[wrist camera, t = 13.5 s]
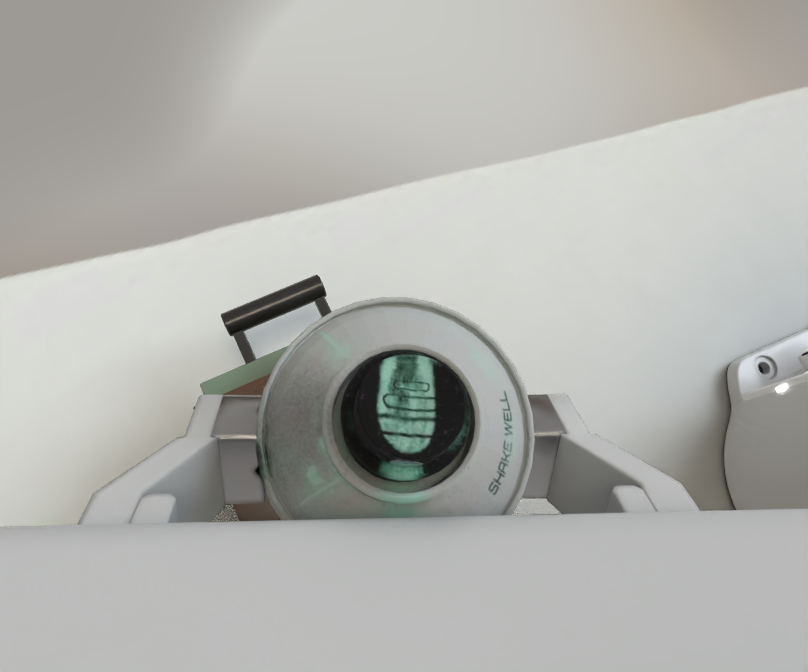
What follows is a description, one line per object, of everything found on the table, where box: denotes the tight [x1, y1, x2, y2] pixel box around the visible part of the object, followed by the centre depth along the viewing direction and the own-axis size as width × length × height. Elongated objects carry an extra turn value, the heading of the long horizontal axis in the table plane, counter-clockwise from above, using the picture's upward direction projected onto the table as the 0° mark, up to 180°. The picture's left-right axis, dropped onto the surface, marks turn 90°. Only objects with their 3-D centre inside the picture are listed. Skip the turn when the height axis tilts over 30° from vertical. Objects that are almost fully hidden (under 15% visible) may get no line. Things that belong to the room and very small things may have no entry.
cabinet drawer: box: [200, 275, 331, 395], centre depth 35 cm, size 17×10×8 cm, turn 26°
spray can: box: [256, 297, 535, 520], centre depth 19 cm, size 6×6×20 cm
